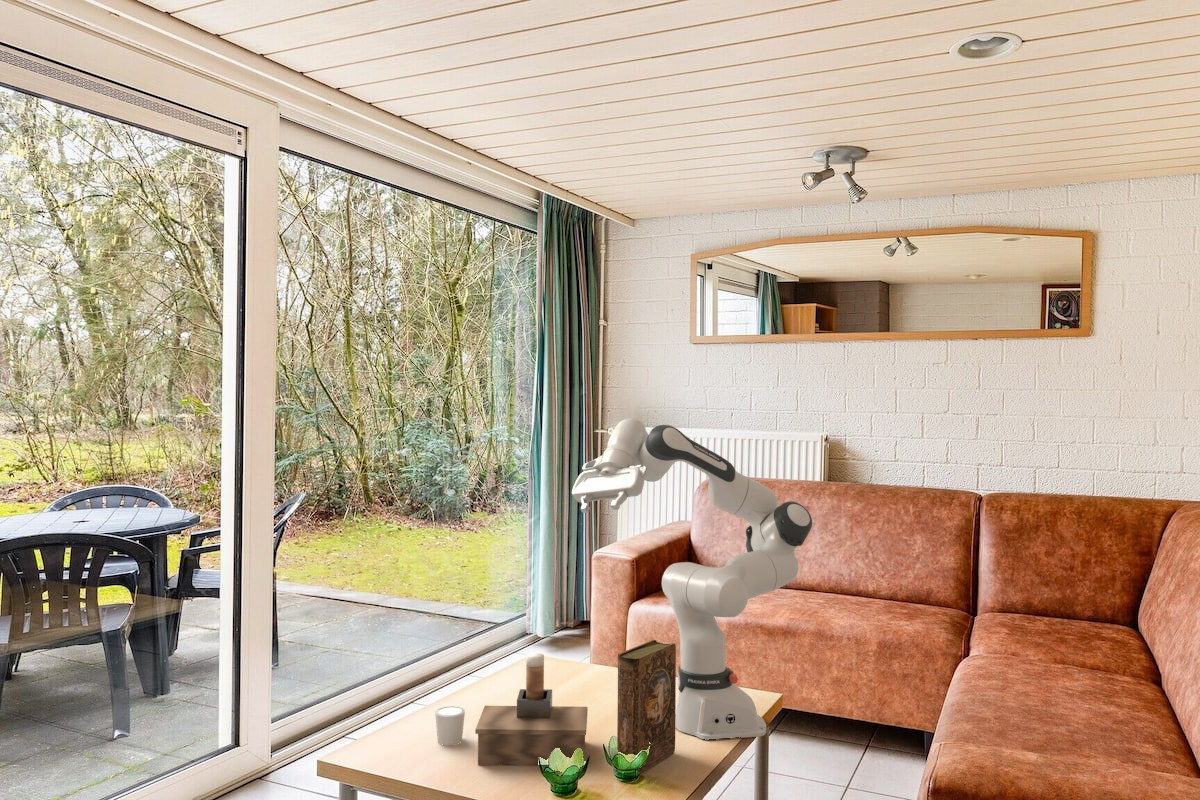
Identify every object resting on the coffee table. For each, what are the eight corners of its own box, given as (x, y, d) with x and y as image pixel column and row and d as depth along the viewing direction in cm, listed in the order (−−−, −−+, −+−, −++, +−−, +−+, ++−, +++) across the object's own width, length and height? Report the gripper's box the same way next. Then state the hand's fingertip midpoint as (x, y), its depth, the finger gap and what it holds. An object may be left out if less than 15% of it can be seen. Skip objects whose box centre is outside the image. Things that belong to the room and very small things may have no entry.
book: (635, 779, 182) (636, 660, 182) (613, 772, 185) (614, 655, 185) (675, 753, 195) (676, 642, 195) (654, 747, 199) (655, 638, 199)
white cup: (431, 737, 203) (432, 707, 203) (460, 733, 206) (460, 704, 206) (438, 748, 197) (438, 717, 197) (467, 744, 200) (468, 713, 200)
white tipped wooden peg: (544, 709, 200) (544, 653, 200) (542, 715, 196) (543, 658, 196) (526, 709, 200) (527, 652, 200) (525, 715, 196) (525, 658, 196)
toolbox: (587, 740, 202) (587, 689, 202) (585, 767, 188) (586, 711, 188) (484, 739, 202) (484, 688, 202) (475, 766, 188) (475, 710, 188)
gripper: (654, 472, 223) (639, 514, 214) (590, 480, 235) (573, 520, 226) (643, 455, 220) (627, 498, 211) (578, 465, 231) (561, 505, 222)
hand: (599, 509), depth 219 cm, fingers open, 8 cm apart
